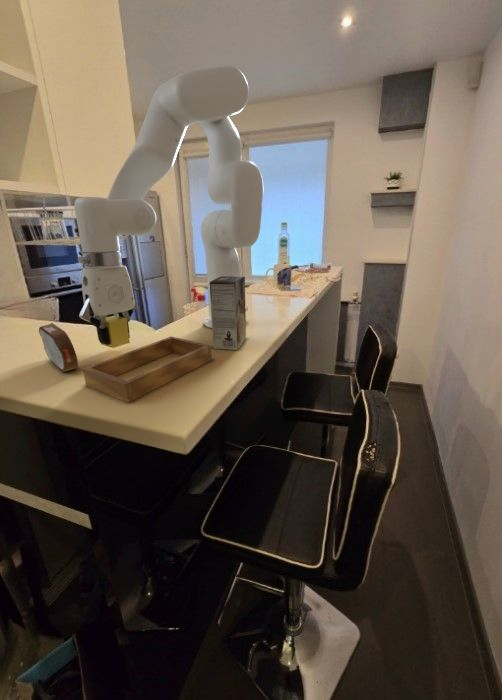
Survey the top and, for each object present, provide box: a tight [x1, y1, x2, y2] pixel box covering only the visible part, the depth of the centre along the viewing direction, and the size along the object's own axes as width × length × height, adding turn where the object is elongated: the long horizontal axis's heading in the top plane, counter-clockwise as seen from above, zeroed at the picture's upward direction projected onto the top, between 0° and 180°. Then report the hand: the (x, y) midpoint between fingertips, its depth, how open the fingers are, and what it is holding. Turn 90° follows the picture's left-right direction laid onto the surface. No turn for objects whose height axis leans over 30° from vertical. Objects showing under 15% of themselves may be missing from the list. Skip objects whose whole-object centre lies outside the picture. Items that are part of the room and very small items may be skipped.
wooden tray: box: [82, 335, 213, 404], centre depth 65 cm, size 22×12×4 cm, turn 147°
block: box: [100, 315, 131, 349], centre depth 76 cm, size 4×4×6 cm
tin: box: [38, 322, 79, 373], centre depth 68 cm, size 15×3×8 cm, turn 44°
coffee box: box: [210, 276, 247, 351], centre depth 79 cm, size 9×6×16 cm
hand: (115, 339), depth 77 cm, fingers closed on block, 4 cm apart
